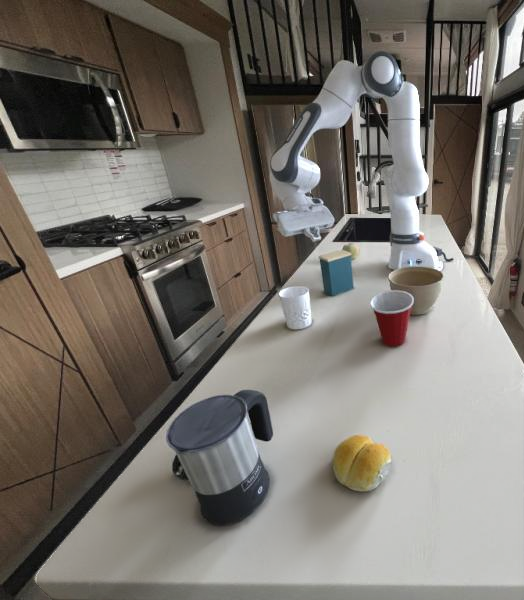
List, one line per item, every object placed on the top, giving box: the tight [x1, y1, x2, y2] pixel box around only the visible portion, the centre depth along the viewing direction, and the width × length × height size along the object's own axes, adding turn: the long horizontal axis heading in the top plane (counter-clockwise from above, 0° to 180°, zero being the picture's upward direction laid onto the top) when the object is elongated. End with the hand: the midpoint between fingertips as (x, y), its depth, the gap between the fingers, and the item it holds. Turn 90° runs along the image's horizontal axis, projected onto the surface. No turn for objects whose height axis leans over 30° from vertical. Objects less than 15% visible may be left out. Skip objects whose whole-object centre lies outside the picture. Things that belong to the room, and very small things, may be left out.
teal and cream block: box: [318, 249, 354, 297], centre depth 110 cm, size 5×9×13 cm, turn 135°
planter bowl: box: [387, 266, 444, 316], centre depth 97 cm, size 16×16×11 cm
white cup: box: [278, 285, 312, 330], centre depth 90 cm, size 8×8×10 cm
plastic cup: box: [368, 290, 414, 348], centre depth 80 cm, size 11×11×12 cm
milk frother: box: [165, 389, 274, 527], centre depth 46 cm, size 14×16×15 cm
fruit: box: [341, 242, 360, 260], centre depth 142 cm, size 8×7×8 cm
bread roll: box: [332, 434, 392, 492], centre depth 50 cm, size 8×9×4 cm
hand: (317, 240), depth 112 cm, fingers closed
